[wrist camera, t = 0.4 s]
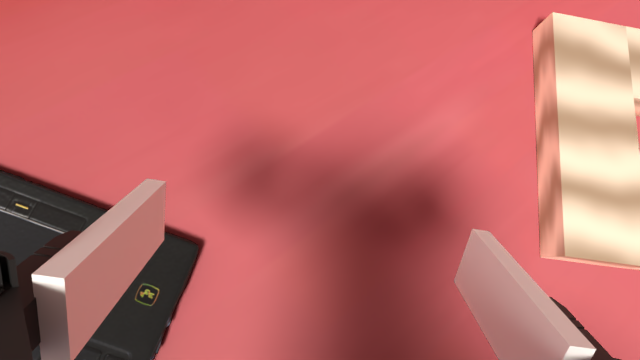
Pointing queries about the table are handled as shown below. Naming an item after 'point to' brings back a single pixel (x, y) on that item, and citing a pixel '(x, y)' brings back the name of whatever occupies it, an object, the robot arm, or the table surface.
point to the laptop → (141, 296)
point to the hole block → (588, 140)
